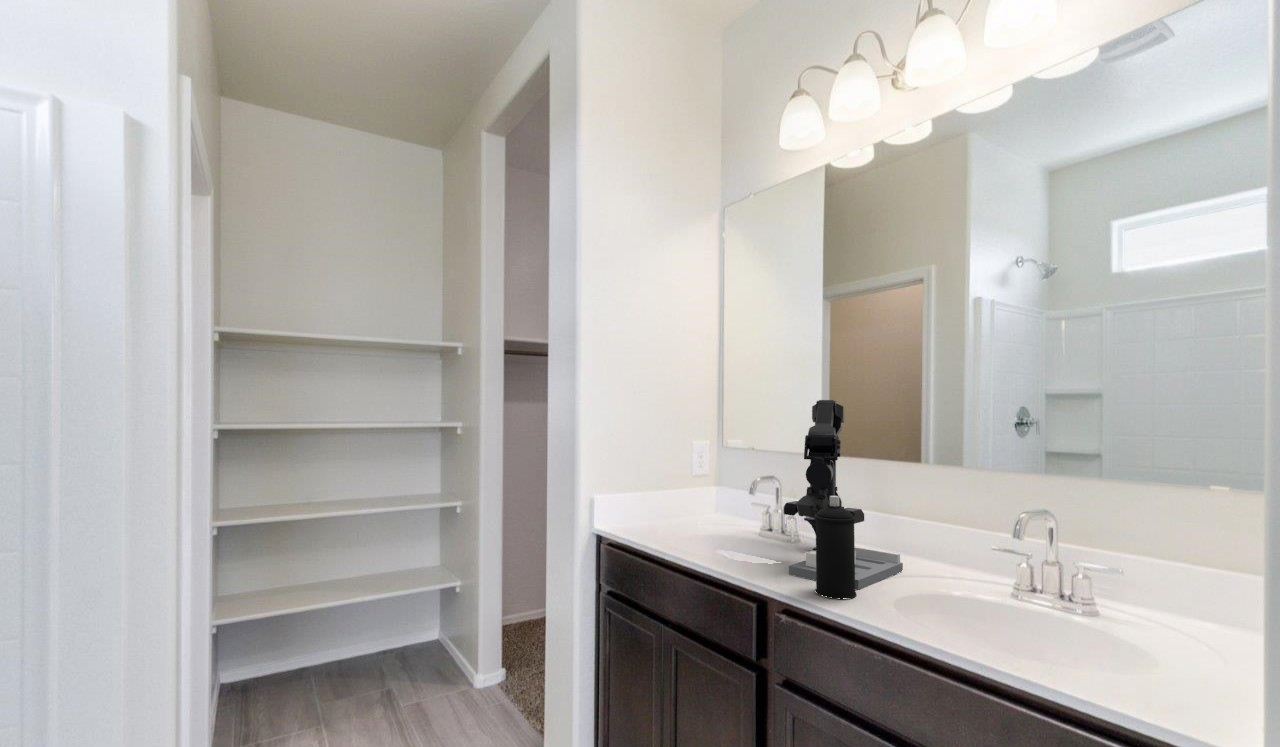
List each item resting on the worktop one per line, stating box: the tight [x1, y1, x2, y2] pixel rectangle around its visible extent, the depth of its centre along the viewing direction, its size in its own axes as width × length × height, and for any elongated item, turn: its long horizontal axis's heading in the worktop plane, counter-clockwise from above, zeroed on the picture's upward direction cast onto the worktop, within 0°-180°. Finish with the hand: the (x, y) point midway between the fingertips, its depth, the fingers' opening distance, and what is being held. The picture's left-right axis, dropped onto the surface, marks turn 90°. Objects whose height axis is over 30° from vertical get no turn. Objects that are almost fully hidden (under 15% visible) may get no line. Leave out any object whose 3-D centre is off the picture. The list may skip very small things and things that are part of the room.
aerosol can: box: [814, 495, 857, 600], centre depth 131 cm, size 8×8×20 cm
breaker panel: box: [788, 546, 904, 591], centre depth 147 cm, size 22×17×4 cm
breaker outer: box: [805, 550, 816, 568], centre depth 145 cm, size 3×3×3 cm
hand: (823, 548), depth 152 cm, fingers closed
